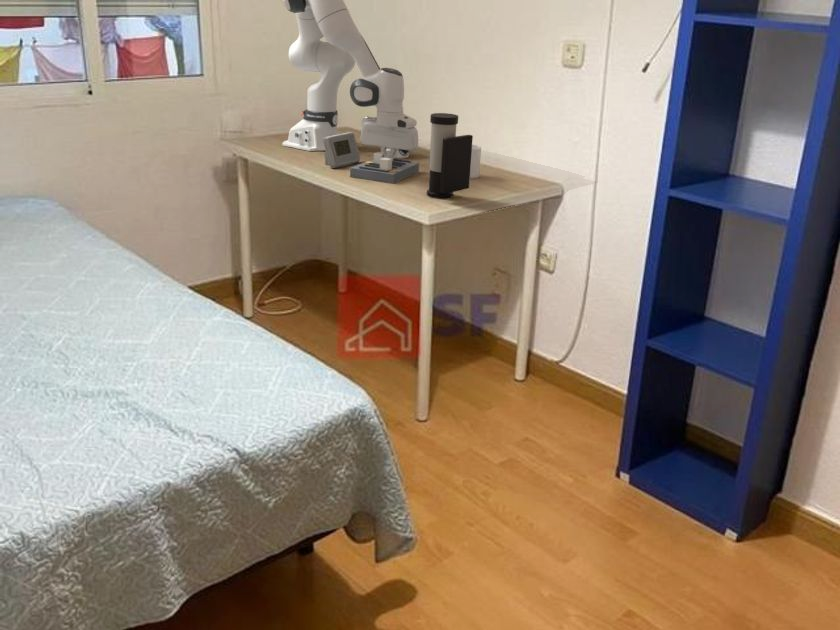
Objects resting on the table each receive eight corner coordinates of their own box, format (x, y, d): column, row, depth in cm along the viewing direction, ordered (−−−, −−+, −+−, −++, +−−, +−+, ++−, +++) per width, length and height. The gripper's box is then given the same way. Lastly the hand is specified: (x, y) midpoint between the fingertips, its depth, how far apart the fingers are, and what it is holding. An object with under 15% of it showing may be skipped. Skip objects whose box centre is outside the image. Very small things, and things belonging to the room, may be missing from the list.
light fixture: (442, 189, 262) (447, 111, 253) (468, 196, 256) (474, 116, 246) (416, 195, 254) (420, 114, 245) (443, 202, 247) (448, 120, 238)
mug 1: (389, 151, 314) (389, 130, 311) (414, 155, 310) (415, 133, 307) (373, 157, 303) (374, 135, 300) (399, 161, 299) (400, 139, 296)
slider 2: (380, 159, 284) (381, 149, 282) (384, 158, 286) (384, 148, 285) (388, 160, 283) (388, 150, 281) (392, 159, 285) (392, 149, 284)
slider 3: (379, 169, 270) (379, 159, 268) (383, 167, 272) (383, 157, 271) (387, 170, 268) (388, 160, 267) (391, 169, 271) (392, 158, 270)
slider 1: (373, 163, 278) (373, 153, 276) (377, 162, 280) (377, 151, 279) (381, 164, 276) (381, 154, 275) (385, 163, 279) (385, 153, 278)
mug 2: (442, 173, 284) (443, 144, 280) (457, 170, 290) (459, 141, 286) (468, 180, 277) (471, 149, 273) (483, 176, 282) (486, 147, 278)
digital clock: (331, 169, 281) (331, 138, 277) (315, 165, 287) (315, 134, 283) (366, 164, 292) (367, 134, 288) (350, 159, 298) (350, 130, 294)
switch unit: (350, 176, 273) (350, 166, 271) (377, 165, 291) (378, 155, 289) (393, 183, 267) (393, 172, 266) (418, 171, 285) (419, 161, 284)
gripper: (357, 117, 272) (356, 158, 278) (413, 123, 265) (411, 166, 271) (366, 114, 278) (365, 154, 283) (421, 121, 271) (419, 162, 276)
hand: (388, 160), depth 277 cm, fingers closed
